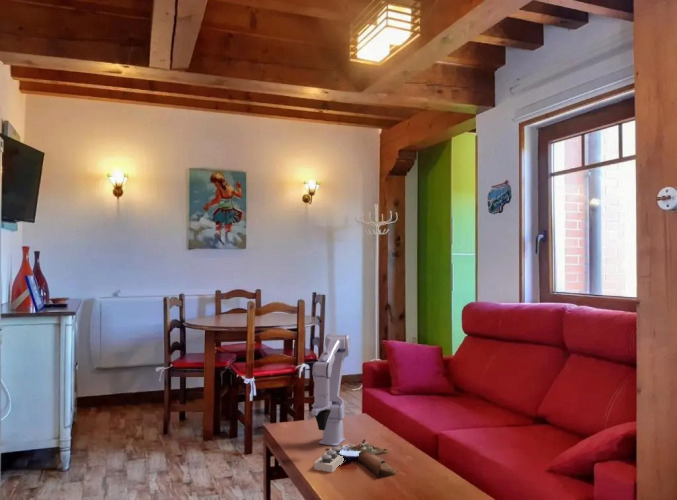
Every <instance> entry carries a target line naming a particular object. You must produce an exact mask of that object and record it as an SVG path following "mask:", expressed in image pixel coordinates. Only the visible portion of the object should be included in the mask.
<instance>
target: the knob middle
mask: <svg viewBox="0 0 677 500" xmlns="http://www.w3.org/2000/svg"><path fill="white" fill-rule="evenodd" d="M326 452H327V454H328V455H331V456H332V458H331V459H335V458H336V453H337V452H336V451H334V450H330V449H328V450H327V451H326Z"/></svg>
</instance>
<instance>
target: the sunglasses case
mask: <svg viewBox="0 0 677 500" xmlns="http://www.w3.org/2000/svg"><path fill="white" fill-rule="evenodd" d="M358 454H359V457H358V460H357V461H358V462H359V463H361V464H362V465H364V466H366V468H367V469H369V470H370V471H371V472H372V473H374V474H375V475H376V476H377V477H379V479H382V478H387V477H393V476H396V475H399V473H398V471H396V469H394V467H392V466H391V465H390V464H388V463H387V462H386V460H385V459H383V458H382V457H380V456H378V455H375V454H374V453H371V452H367V451H360V452H358Z"/></svg>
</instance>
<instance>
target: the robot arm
mask: <svg viewBox="0 0 677 500" xmlns="http://www.w3.org/2000/svg"><path fill="white" fill-rule="evenodd" d="M324 339H325V341H324V346H325V348H326V349H325V350H324V351H322V353H321V354H320V356H319V358H318V361H316V362H314V363H313V365H312V371H311V373H312V377H313V382H314V403H313V404H311V407H312V408H311V416H314V418H315V421H316V423H317V428H318V430H319V431H322V439H321V440H319V442H318V444H319V445H320V444H321V445H327V446H332V447H335V446H338V447H339V445H340V444H341V443H342V442H344V441H345V440H346V438H345V437H344V422H343V419H344V417H345V411H346V408H345V404H346V403H345V401H344V400H343V398H342V397H340V391H341V382H342V377H343V376H342V375H343V367H344V362H345V358H347V357H348V356H349V353H350V349H351V337H350V335H349V334H331V333H330V334H329V333H327V334H326V336H325V338H324Z"/></svg>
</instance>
